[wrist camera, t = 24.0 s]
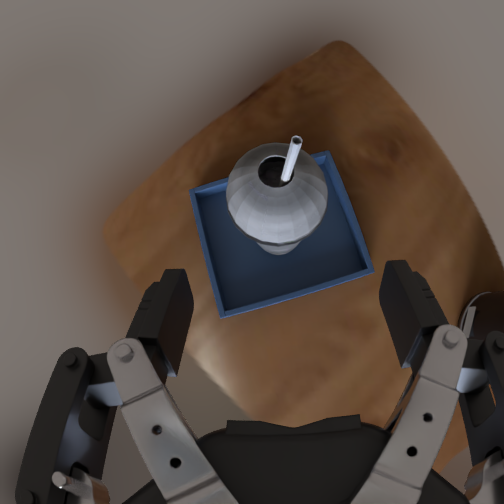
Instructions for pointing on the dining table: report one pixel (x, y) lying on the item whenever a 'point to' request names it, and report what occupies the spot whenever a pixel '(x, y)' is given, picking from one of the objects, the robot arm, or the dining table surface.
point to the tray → (278, 266)
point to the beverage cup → (277, 195)
